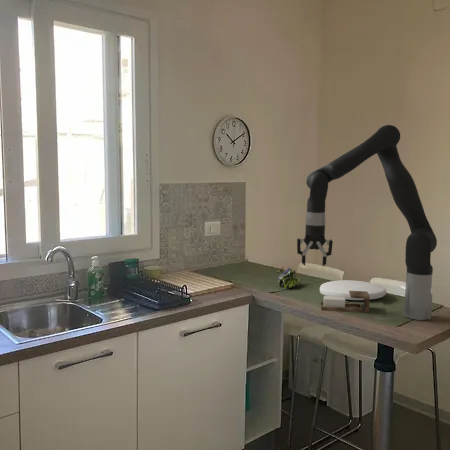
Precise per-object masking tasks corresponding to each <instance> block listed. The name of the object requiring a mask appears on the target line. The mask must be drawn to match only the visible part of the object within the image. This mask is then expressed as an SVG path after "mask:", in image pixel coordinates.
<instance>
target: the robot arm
mask: <svg viewBox="0 0 450 450" xmlns="http://www.w3.org/2000/svg"><path fill="white" fill-rule="evenodd" d="M400 140H401V132H400V130H399V129H398V127H396V126H395V125H393V124H392V125H391V124H387V125H382V126H381V127H379V128H378V129H377V131H376V132H375V133H373V134H372V135H371V136H370V137H369V138H367V139H366V140H364V141H363V142H362V143H360V144H359V145H357V146H355V147H354V148H352V149H350V150H349V151H347V152H345V153H343V154H342V155H340V156H339V157H337V158H335V159H334V160H333V161H331V162H330V163H328V164H326V165H324V166H322V167H319V168H318V169H316V170H314V171H312V172H311V173H309V174H308V176H307V177H306V181H305V182H306V185H307V187H308V188H309V189H310V190H309V197H308V198H307V203H306V215H305V216H306V217H305V231H304V232H305V233H304V235H305V236H304V238H299V237H298V238H297V239H296V246H297V247H296V250H297V253H296V254H298V255H300V256H301V264H303V266H306V258H307V257H306V256H307V255H306V254H307V253H308V251H309V250H317V251H318V250H320V252H321V254H322V267H325V265H327V259H328V258H327V257H328V256H329V257H330V256H331V255H332V254H333V253H332V252H333V243H334V242H333V240H332V239H326V237H325V235H326V199H327V195H328V191H329V183H331V182H332V181H335V180H338V179H340V178H342V177H344V176H345V175H347V174H349V173H351V172H352V171H353V170H355V169H357V168H358V167H359V166H360V165H362V164H363V163H364V162H365V161H367V160H368V159H370V158H371V157H373V156H375V155H376V154H377V157H378V159H379V160H380V163H381V166H382V169H383V171H384V176H385V178H386V181H387V183H388V187H389V191H390V192H391V196H392V198H393V202H394V203H395V205H396V207H397V208H398V210H399V211H400V213H401V214H402V215H403V216H404V218H405V220H406V221H407V225H408V227H409V231H410V232H411V233H410V234H409V235H408V236H407V238H406V244H405V259H404V261H405V266H406V275H405V277H406V278H405V289H404V290H405V293H404V308H403V316H404V317H406V318H407V319H411V320H416V321H426V320H432V308H433V307H432V306H433V294H432V284H433V272H434V269H433V266H432V264H431V258H432V257H431V255H432V252H434V250H436V248H437V244H438V240H437V237H436V234H435V231H434V230H433V229H432V227H431V224H430V223H429V220H428V218H427V216H426V213H425V210H424V206H423V203H422V200H421V198H420V194H419V191H418V189H417V186H416V183H415V180H414V178H413V177H412V175H411V173H410V172H409V170H408V169H407V167H406V166H405V165H404V163H403V162H402V160H401V157H400V154H399V150H398V147H397V145H398V144H399V143H400ZM303 242H304V244H305V245H306V246H305V247H304V248H303V251H302V250H301V248H302V247H301V245H303ZM325 244H326V245H327V246H328V247H327V248H328V249H327V252H326V250H325V248H324V245H325Z"/></svg>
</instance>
